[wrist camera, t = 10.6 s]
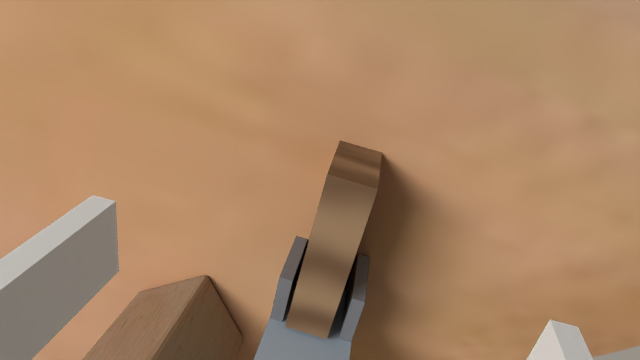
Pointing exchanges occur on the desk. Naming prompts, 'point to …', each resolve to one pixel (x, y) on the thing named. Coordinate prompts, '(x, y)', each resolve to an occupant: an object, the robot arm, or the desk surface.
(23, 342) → the robot arm
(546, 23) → the desk surface
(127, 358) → the wooden block
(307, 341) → the gray block with ears
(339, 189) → the rail
